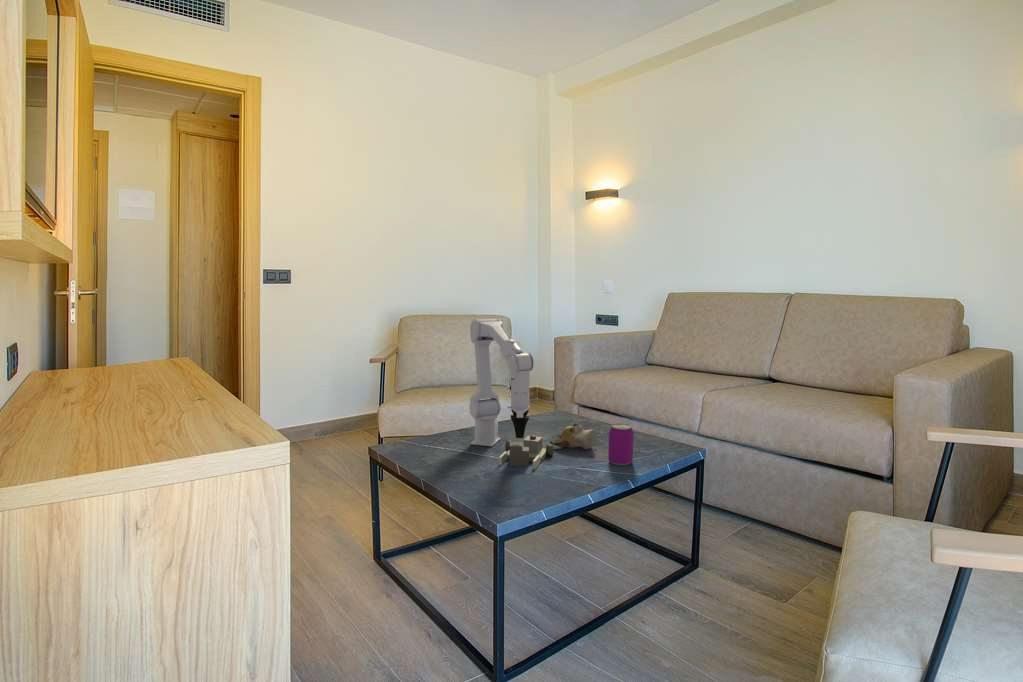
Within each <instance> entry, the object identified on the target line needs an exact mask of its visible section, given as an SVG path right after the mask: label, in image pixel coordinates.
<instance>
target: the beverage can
mask: <svg viewBox="0 0 1023 682" xmlns="http://www.w3.org/2000/svg"><path fill="white" fill-rule="evenodd" d="M610 426H611V427H610V428H609V430H608V457H607V459H608V460H609V462H610V463H611V464H613V465H616V466H627V465H628V466H629V465H630V464H631V463H632V462H633V459H634V436H635V434H634V430H633V427H632V425H631V424H628V423H623V422H615V423H611V425H610Z"/></svg>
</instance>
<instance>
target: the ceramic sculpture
mask: <svg viewBox="0 0 1023 682" xmlns="http://www.w3.org/2000/svg"><path fill="white" fill-rule="evenodd" d="M557 437H558V439H556V440H554V441H553V440H552V441H549V443H550V445H553V446H554V447H555V446H556V447H559V448H565V447H568V448H579V447H581V448H583V449H584V450H589V449H591V448H592V445H593V443H594V441H595V437H596V429H595V428H593V429H592V428H591V429H584V428H583V427H582V425H580V424H577V423H574V424H573V426H571V425H569V426H566V427H565V428H564V429H563V430H562V431H561V434H557Z"/></svg>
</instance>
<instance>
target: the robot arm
mask: <svg viewBox="0 0 1023 682" xmlns="http://www.w3.org/2000/svg"><path fill="white" fill-rule="evenodd" d="M503 325H504V324H503V322H502V321H501V319H500V318H499V317H495V318H479V319H478V318H474V319H473V320H472V321H471V323H470V325H469V331H470V332H469V334H470V342H471V343H472V344H474V353H475V354H474V357H475V358H474V359H475V368H476V369H475V370H476V373H475V374H476V385H477V386H476V388H477V389H476V391H474V393H473V394H472V395H471V396H470V399H469V401H470V402H469V414H470V415H471V417H472V418H473V419H474V440H473V441H471V442H470V445H474V446H482V447H483V446H485V447H493V446H494V445H496V444H497V442H499V441H500V440H501V437H499V420H498V416H499V415H500V413H501V409H502V407H501V402H500V397H499V395H498V394H497V393H496V392H495V391H494V390H493V388H492V374H491V359H490V358H491V357H490V345H491V344H492V343H493V342H495V343H496V344H498V346H499V351H500V353H501V355H502V356H503V358H505V360H506V361H507V367H508V371H509V372H508V373H509V377H510V404H507V406H506V407H507V409H511V410H510V411H511V412H512V414H511V415H510V420H511V421H512V424H513V427H514V433H515V438H516V439H524V438H525V437H524V436H525V432H526V427H527V423H528V421H529V419H530V416H529V415H528V413H529V411H530V409H531V406H530V384H531V383H530V380H531V379H530V377H531V375H530V373H531V371H532V370H533V368H534V365H535V363H534V358H533V356H532V354H531V353H530V352H529V351H528V352H526V351H524V350H522V348H521V347H520V346H519V345H518V343H517V342H516V340H514V339H510V338H508V336H507V334H506V333H505V331H504V326H503Z"/></svg>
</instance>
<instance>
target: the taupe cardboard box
mask: <svg viewBox="0 0 1023 682" xmlns="http://www.w3.org/2000/svg"><path fill="white" fill-rule="evenodd" d="M523 444H524V441H523V442H522V441H521V442H520V441H519V442H515V441H513V442H510V459H508V460H509V462H508V463H509V467H530V466H529V465H530V464H529V447H522V446H523Z"/></svg>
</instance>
